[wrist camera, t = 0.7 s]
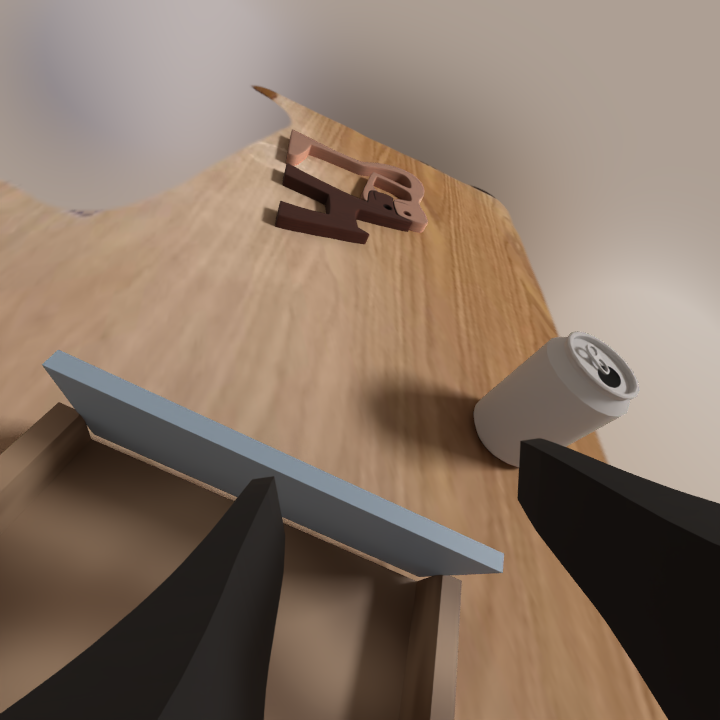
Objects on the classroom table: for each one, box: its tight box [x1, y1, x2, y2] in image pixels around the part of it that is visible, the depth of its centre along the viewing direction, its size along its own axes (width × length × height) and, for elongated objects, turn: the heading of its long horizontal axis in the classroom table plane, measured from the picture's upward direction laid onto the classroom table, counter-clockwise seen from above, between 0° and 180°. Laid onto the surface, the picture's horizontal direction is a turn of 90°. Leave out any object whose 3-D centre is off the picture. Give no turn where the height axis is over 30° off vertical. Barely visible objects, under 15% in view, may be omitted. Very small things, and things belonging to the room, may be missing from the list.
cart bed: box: [0, 402, 462, 720], centre depth 16 cm, size 14×23×4 cm, turn 73°
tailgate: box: [42, 350, 504, 577], centre depth 19 cm, size 1×21×8 cm, turn 73°
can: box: [474, 331, 639, 467], centre depth 31 cm, size 8×8×12 cm
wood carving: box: [276, 130, 428, 244], centre depth 54 cm, size 28×2×24 cm
